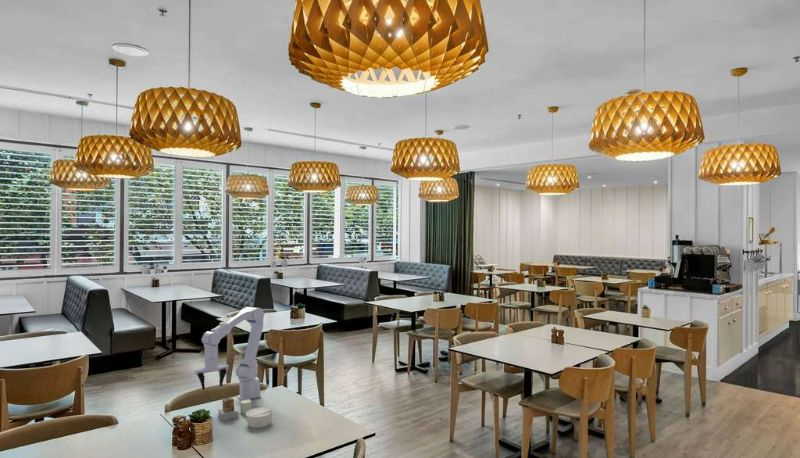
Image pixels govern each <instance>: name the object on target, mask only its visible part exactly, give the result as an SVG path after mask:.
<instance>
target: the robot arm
mask: <svg viewBox="0 0 800 458" xmlns="http://www.w3.org/2000/svg"><path fill="white" fill-rule="evenodd" d="M264 318H265V312H264V311H263V309H262V308H261V307H251V306H244V308H242V309H240V311H239V312H238V313H237V314H235V315H234V316H233V317H232V318H230V319H229V320H228V321H227V322H226V321H223V322H219V325H217V326H216V327H215V328H212V329H210V331H206V332H204V333H203V335H202V337H201V339H200V340H201V343H202V344H203V348H204V367H201V368H197V369H194V375H195V376H197V377H198V380H199V382H200V385H201V389H202V390H203V391H205V390H206V388H205V385H206V384H205V375H204V374H207V373H211V372H212V373H213V372H218V375H219V386H220V387H223V382H224V380H225V379H224V378H225V377H226V375H227V372H228V370H229V365H228V364H221V365H220V364H219V343H221V342H220V341H221V339H223V338H224V337H225V336H227V335H228V334H229V333H232V332H231V331H232V329H233V328H234V327H236V326H237V325H238V324H240V323H242V322H243V321H246V322H247V323H249V325H250V333H249V335H248V336H249V337H248V339H247V344H246V348H245V353H244V355H243V356H244V357H243V358H242V359H241V360H240V361H239V363H238V365H237V367H236V370H235V376H236V377H238V381H239V382H238V383H239V394H238V395H236V396H237V398H238V399H239V400H240V401H243V400H248V399H249V400H252V399H257V398H258V399H259V398H261V396H262V395H261V380H260V378H259V377H258V373H259V369H258V368H259V365H258V363H257V361H256V358H257V355H258V349H259V346H260V342H261V337H262V332H263V330H264V329H263V328H264Z"/></svg>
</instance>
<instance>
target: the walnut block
mask: <svg viewBox="0 0 800 458" xmlns="http://www.w3.org/2000/svg"><path fill="white" fill-rule="evenodd" d="M221 400H222V401H221V402H222V403H221V404H222V409H223V411H224V412H230V411H234V406H235V399H234V397H233V396H227V397H223V398H222V399H221Z"/></svg>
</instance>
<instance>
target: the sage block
mask: <svg viewBox="0 0 800 458" xmlns="http://www.w3.org/2000/svg"><path fill="white" fill-rule="evenodd" d="M239 403H240V414H242V415H246V412H247V411H249V410H251V409H253V407H252V406H253V404H252V403H253V402H252V400H251V399H248V400H243V401H241V400H240V402H239Z"/></svg>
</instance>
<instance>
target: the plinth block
mask: <svg viewBox="0 0 800 458" xmlns="http://www.w3.org/2000/svg"><path fill="white" fill-rule="evenodd" d="M217 412H218V418H219V419H220V421H221V422H225V421H229V420H234V419H238V418H240V417H239V416H240V415H239V412H240V410H239V409H238V408H237V407H236V406H235V405H234V411H230V412H224V411H223V408H220V409H218V411H217Z"/></svg>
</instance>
